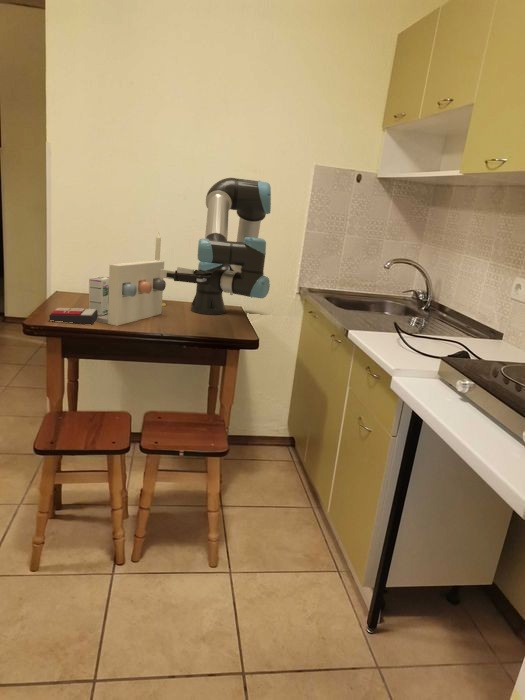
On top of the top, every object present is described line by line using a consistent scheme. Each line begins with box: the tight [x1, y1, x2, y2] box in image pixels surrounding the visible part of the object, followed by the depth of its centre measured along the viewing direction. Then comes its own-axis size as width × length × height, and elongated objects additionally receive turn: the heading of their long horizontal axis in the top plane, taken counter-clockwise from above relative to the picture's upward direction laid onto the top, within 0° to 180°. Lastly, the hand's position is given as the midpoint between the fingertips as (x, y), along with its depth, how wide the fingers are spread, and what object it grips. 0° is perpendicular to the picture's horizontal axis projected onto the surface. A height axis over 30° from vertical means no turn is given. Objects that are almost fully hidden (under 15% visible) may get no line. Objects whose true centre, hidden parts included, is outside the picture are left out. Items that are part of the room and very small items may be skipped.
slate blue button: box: [122, 283, 137, 297], centre depth 190 cm, size 4×4×4 cm
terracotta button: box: [138, 281, 152, 294], centre depth 199 cm, size 4×4×4 cm
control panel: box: [96, 259, 165, 327], centre depth 201 cm, size 30×9×22 cm, turn 158°
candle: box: [154, 232, 167, 307], centre depth 230 cm, size 10×10×32 cm
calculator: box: [49, 307, 99, 326], centre depth 190 cm, size 11×4×15 cm
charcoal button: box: [153, 279, 167, 291], centre depth 208 cm, size 4×4×4 cm
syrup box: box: [88, 275, 109, 317], centre depth 203 cm, size 6×6×14 cm
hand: (169, 271), depth 182 cm, fingers open, 11 cm apart
